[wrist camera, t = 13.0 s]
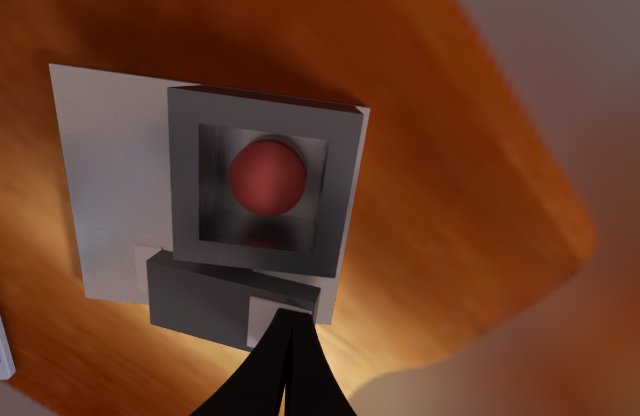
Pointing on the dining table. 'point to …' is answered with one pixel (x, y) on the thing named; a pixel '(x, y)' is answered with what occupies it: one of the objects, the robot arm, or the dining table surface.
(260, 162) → the button
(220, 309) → the block
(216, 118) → the panel
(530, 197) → the dining table surface
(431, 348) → the dining table surface
